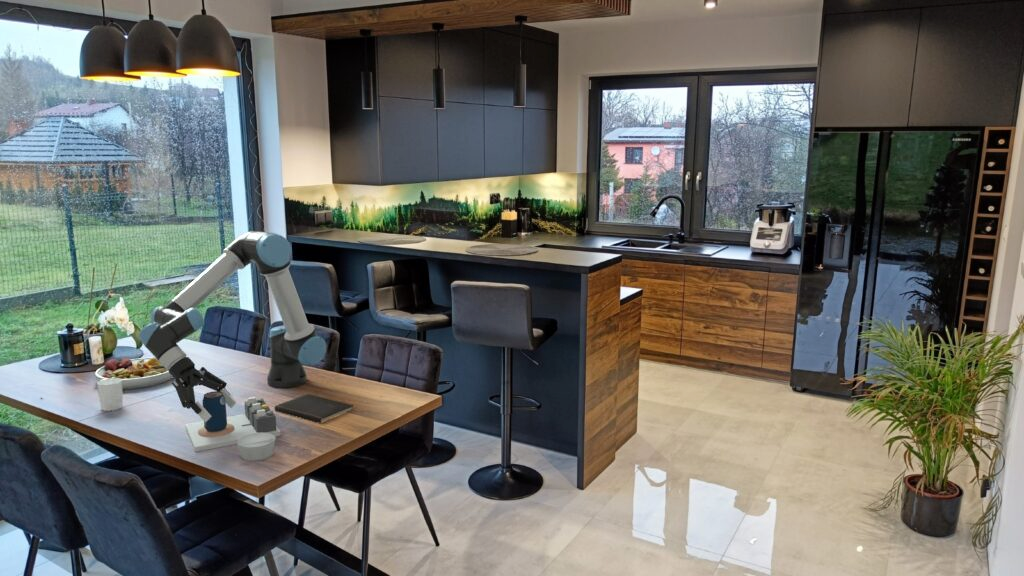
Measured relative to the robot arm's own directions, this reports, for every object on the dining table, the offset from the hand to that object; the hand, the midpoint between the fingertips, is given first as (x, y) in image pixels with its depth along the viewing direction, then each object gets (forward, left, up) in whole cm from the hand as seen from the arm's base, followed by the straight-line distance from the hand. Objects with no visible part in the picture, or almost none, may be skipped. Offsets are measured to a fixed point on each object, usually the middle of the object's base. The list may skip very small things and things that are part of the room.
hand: (221, 412), depth 235 cm
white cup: (+30, -47, -8) cm, 56 cm away
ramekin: (-6, +21, -8) cm, 24 cm away
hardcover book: (-32, -9, -9) cm, 35 cm away
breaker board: (-3, -2, -8) cm, 9 cm away
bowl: (+19, -79, -9) cm, 81 cm away
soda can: (+2, -2, -6) cm, 7 cm away
